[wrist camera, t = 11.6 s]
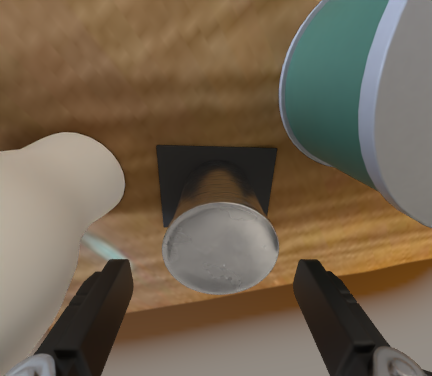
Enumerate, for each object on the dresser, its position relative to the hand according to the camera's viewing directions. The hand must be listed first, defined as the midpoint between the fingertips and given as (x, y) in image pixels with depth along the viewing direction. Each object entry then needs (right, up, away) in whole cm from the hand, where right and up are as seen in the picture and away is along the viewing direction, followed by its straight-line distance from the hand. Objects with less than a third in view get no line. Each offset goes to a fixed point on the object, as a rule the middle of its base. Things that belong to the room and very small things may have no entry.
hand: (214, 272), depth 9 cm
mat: (0, +4, +9) cm, 10 cm away
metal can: (0, +4, +9) cm, 9 cm away
